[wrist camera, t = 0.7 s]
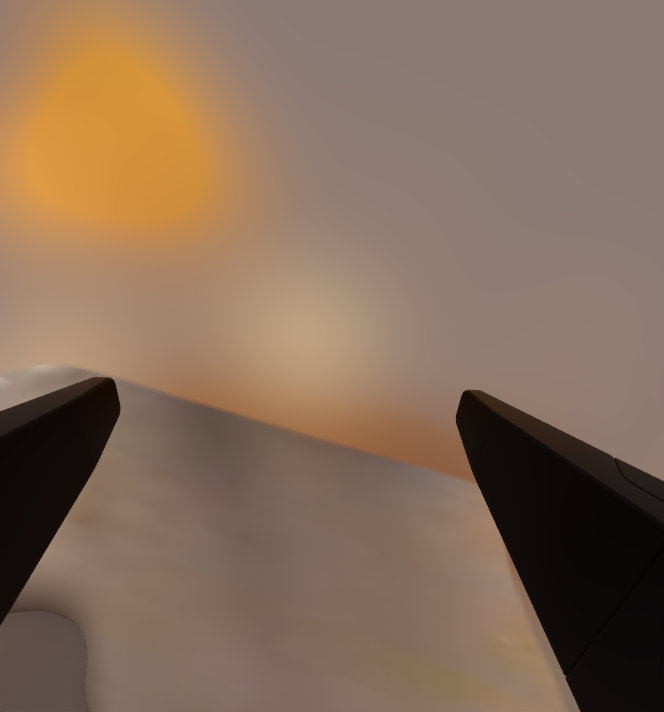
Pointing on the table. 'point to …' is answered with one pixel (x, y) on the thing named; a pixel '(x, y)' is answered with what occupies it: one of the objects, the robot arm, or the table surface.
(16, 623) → the paw print puck
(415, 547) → the table surface
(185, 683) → the table surface
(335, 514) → the table surface
